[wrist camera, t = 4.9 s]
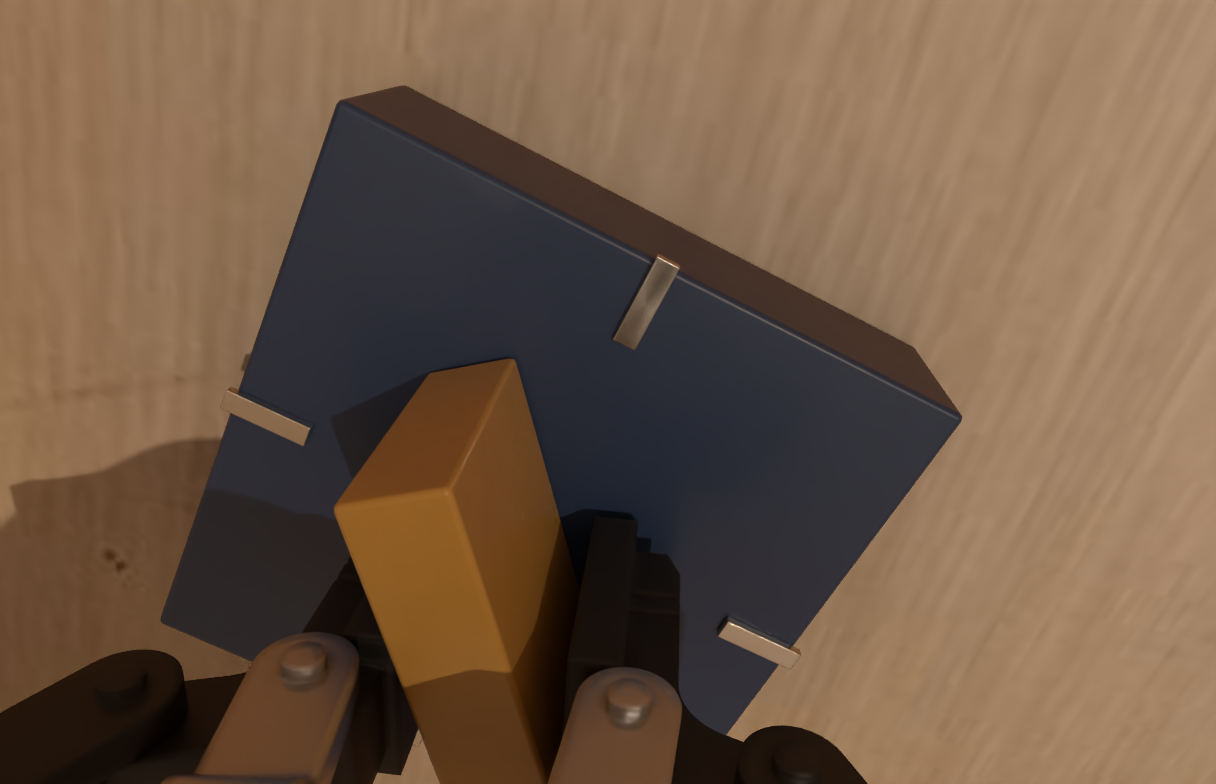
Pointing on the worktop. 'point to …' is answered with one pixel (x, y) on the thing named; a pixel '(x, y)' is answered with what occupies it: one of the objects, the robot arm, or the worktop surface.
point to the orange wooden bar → (469, 574)
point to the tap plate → (556, 393)
